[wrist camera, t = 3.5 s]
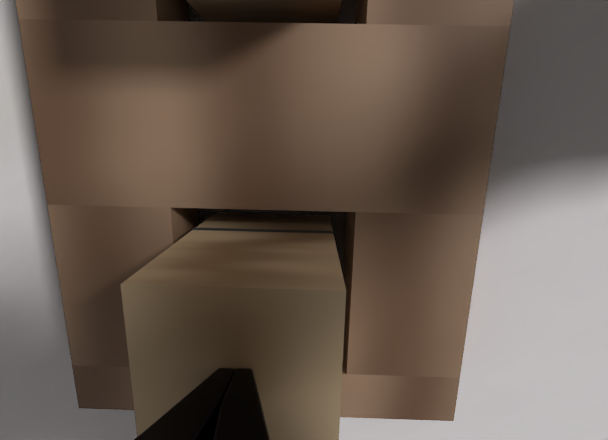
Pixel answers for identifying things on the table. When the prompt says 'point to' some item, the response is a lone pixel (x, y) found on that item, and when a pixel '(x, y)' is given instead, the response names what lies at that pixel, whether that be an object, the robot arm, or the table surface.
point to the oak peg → (243, 319)
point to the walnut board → (273, 163)
